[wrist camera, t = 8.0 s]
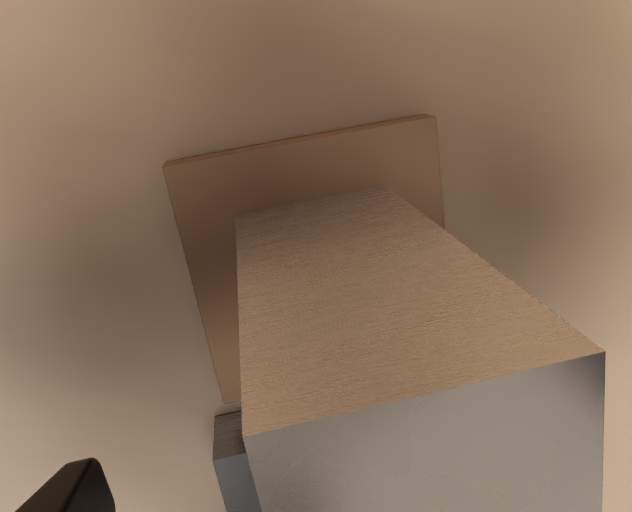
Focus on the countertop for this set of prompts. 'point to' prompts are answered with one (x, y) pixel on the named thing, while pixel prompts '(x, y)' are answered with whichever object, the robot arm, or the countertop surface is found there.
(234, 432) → the square metal frame
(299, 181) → the walnut pad
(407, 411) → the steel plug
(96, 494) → the robot arm
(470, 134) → the countertop surface
